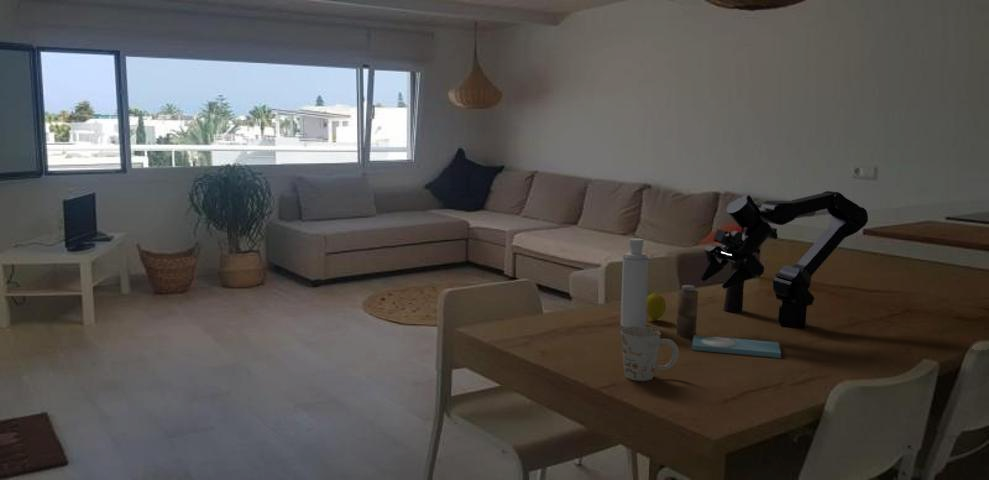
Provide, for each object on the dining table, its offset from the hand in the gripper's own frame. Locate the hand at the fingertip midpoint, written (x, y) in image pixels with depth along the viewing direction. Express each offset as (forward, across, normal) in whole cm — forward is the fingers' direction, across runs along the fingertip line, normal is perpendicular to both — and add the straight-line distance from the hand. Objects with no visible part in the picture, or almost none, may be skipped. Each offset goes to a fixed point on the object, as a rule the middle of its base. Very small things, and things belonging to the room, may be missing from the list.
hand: (712, 283), depth 194 cm
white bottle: (+20, -12, -2) cm, 24 cm away
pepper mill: (+14, 0, +4) cm, 15 cm away
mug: (+32, +25, -14) cm, 43 cm away
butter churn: (-4, -18, +23) cm, 29 cm away
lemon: (+15, -14, +4) cm, 21 cm away
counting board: (+11, +14, +8) cm, 19 cm away
